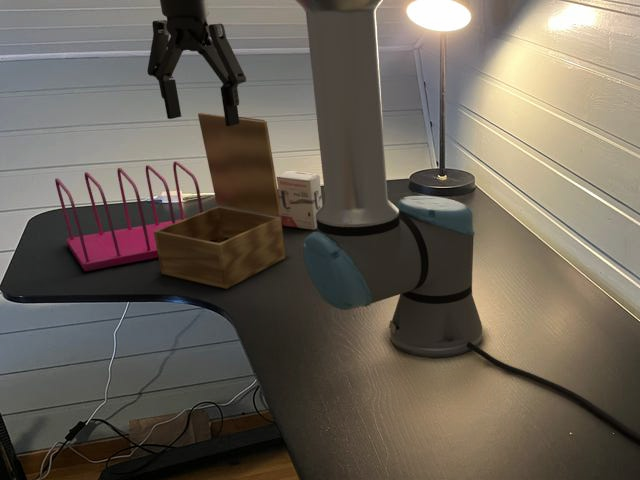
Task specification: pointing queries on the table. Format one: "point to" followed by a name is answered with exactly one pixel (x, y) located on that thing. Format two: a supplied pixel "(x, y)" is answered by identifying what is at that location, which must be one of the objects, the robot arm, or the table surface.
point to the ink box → (299, 198)
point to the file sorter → (123, 242)
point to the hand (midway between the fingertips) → (203, 121)
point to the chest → (220, 246)
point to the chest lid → (241, 163)
